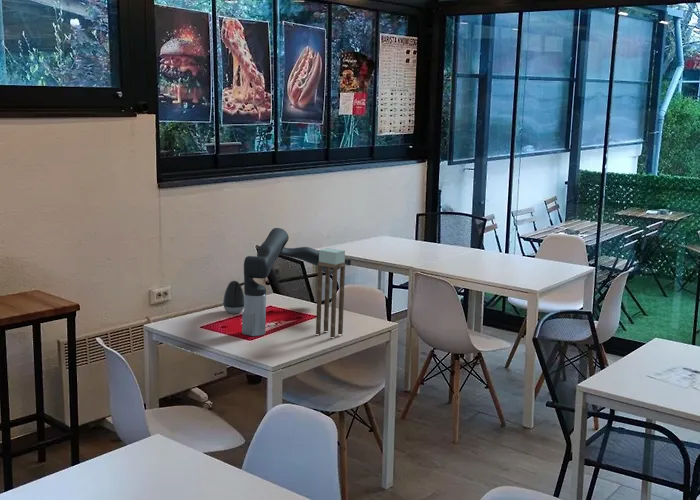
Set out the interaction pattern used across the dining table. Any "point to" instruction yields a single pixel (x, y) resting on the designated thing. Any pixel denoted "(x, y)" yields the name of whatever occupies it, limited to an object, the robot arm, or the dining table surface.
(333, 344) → the dining table surface
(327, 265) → the walnut stand
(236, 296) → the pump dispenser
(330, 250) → the mint green block
